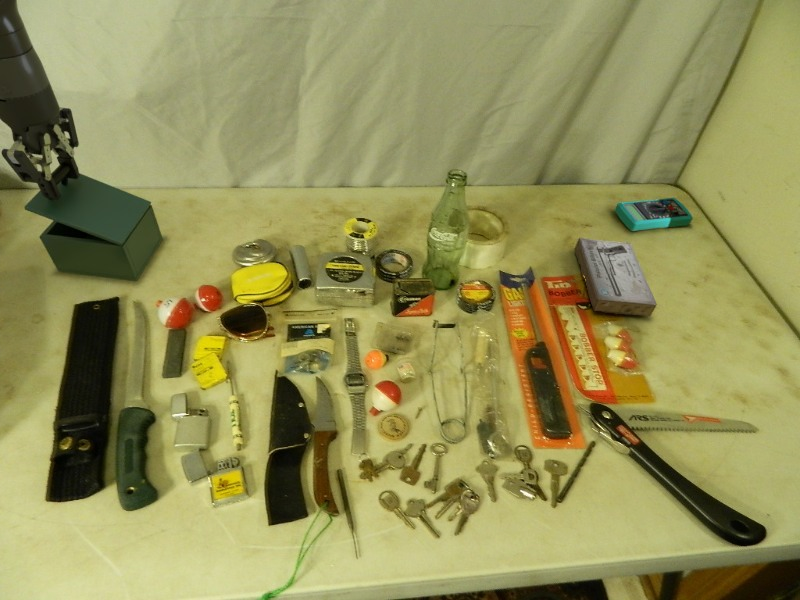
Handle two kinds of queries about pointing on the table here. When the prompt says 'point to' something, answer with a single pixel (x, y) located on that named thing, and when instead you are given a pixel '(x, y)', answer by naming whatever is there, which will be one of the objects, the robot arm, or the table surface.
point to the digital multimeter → (653, 214)
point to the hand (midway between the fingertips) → (63, 187)
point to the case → (103, 250)
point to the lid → (91, 206)
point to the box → (614, 278)
